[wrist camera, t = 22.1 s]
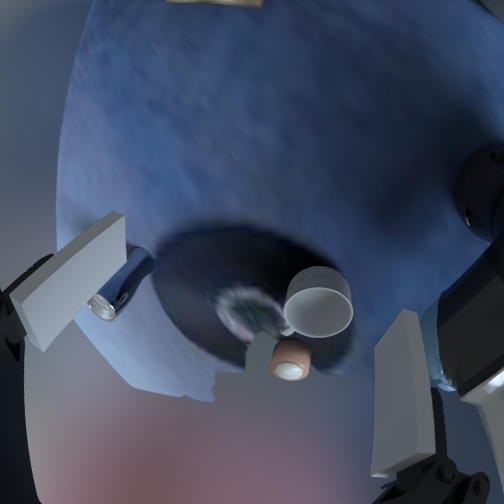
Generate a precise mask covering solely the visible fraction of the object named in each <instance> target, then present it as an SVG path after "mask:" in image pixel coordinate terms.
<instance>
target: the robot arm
mask: <svg viewBox="0 0 504 504" xmlns="http://www.w3.org/2000/svg"><path fill="white" fill-rule="evenodd" d="M456 199H457V206H458V210H459V213H460V216H461V218H462V220H463V221H464V223H465V224H466V225H467V227H468V228H469V229H470V230H471V231H472V232H473V233H474V234H475V235H476V236H478V237H479V238H481V239H483V240H485V241H488V242H490V243H492V244H491V245H490V246H489V247H488V248H487V249H486V251H484V252H483V253H482V255H481V256H480V257H479V258H478V259H477V260H476V261H475V262H474V263H473V264H472V265H471V266H470V267H469V268H468V269H467V270H466V272H465V273H464V274H463V275H462V276H461V277H460V278H458V279H457V280H456V281H455V282H454V283H453V284H452V285H451V286H450V287H449V288H448V289H447V290H445V291H443V292H442V293H441V294H440V295H439V297H438V298H437V300H436V301H435V302H434V303H433V304H432V305H431V306H430V307H429V308H428V309H427V310H426V311H425V312H424V313H423V315H422V317H421V321H420V325H419V320H418V316H417V313H415V312H412V311H409V310H406V309H403V310H402V311H401V312H400V314H399V315H398V317H397V318H396V320H395V321H394V322H393V324H392V325H391V326H390V328H389V329H388V331H387V332H386V333H385V335H384V336H383V337H382V339H381V340H380V341H379V343H378V344H377V345H376V346H375V424H374V425H375V426H374V444H373V458H372V467H371V476H373V477H390V476H392V475H394V474H396V473H397V480H394V481H392V482H390V483H387V484H385V485H383V486H382V487H381V489H384V488H387V487H388V488H387V489H386V490H385V491H384V492H383V493H382V494H381V495H380V496H379V497H378V498H377V499H376V500H375V501H374V502H373V503H372V504H485V503H486V500H487V497H488V494H489V489H490V481H489V478H488V476H487V475H486V474H485V473H484V472H477V473H475V474H473V475H471V476H469V475H466V474H464V473H461V472H459V471H457V467H456V465H455V463H454V462H453V460H451V459H450V458H448V457H447V444H446V432H445V422H444V413H443V411H444V410H443V402H442V398H441V396H440V394H439V391H438V389H437V388H433V387H430V382H429V375H428V371H429V373H430V375H431V376H432V378H433V379H436V382H437V385H438V386H439V387H441V388H442V389H443V390H446V391H454V390H457V391H458V394H459V396H460V399H461V400H462V401H466V402H469V403H473V404H475V405H476V406H477V408H478V410H479V413H480V415H481V418H482V421H483V424H484V427H485V429H486V432H487V435H488V438H489V441H490V444H491V447H492V450H493V454H494V457H495V460H496V464H497V467H498V471H499V475H500V479H501V483H502V487H503V491H504V146H502V145H488V146H485V147H483V148H481V149H479V150H477V151H476V152H475V153H474V154H473V155H472V156H471V157H470V158H469V159H468V160H467V162H466V163H465V165H464V167H463V169H462V171H461V173H460V176H459V179H458V184H457V192H456ZM126 262H127V258H126V237H125V215H123V214H120V213H117V212H114V211H112V212H110V213H109V214H107V215H106V216H105V217H103V218H102V219H100V220H99V221H98V222H96V223H95V224H94V225H92V226H91V227H90V228H88V229H87V230H86V231H84V232H83V233H82V234H80V235H79V236H78V237H76V238H75V239H74V240H73V241H71V242H70V243H69V244H67V245H66V246H65V247H64V248H62V249H61V250H60V251H59V252H57V253H56V254H55V255H54V254H49V255H47V256H45V257H43V258H41V259H40V260H38V261H37V262H36V263H35V264H34V265H33V267H30V268H29V269H28V270H27V272H24V273H23V274H22V275H21V276H20V277H19V278H17V279H16V280H15V281H14V282H13V283H12V284H11V285H10V286H8V287H7V288H6V289H5V290H4V291H3V292H2V291H1V289H0V504H42V503H41V502H40V501H39V499H38V496H37V492H36V488H35V484H34V479H33V474H32V469H31V462H30V456H29V449H28V441H27V432H26V421H25V407H24V406H25V405H24V354H25V341H24V337H25V336H26V335H28V337H29V339H30V341H31V343H32V344H34V345H35V346H36V347H38V348H39V349H40V350H42V351H44V350H46V348H47V347H48V346H49V345H50V344H51V342H52V341H53V340H54V339H55V338H56V337H57V335H58V334H59V333H60V332H61V331H62V330H63V329H64V327H65V326H66V325H67V324H68V323H69V322H70V321H71V320H72V319H73V317H74V316H75V315H76V314H77V313H78V312H79V311H80V310H81V309H82V308H83V306H84V305H85V304H86V303H87V302H88V301H89V300H90V299H91V298H92V297H93V296H94V295H95V294H96V293H97V292H98V290H99V289H100V288H101V287H102V286H103V285H104V284H105V283H106V282H107V281H108V280H109V279H110V278H111V277H112V276H113V275H114V274H115V273H116V272H117V271H118V270H119V269H120V268H121V267H122V266H123V265H124V264H125V263H126Z"/></svg>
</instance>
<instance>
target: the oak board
mask: <svg viewBox="0 0 504 504" xmlns="http://www.w3.org/2000/svg"><path fill="white" fill-rule="evenodd" d="M263 1H264V0H166V2H169V3H212V4H227V5H238V6H247V7H255V8H262V4H263Z"/></svg>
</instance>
